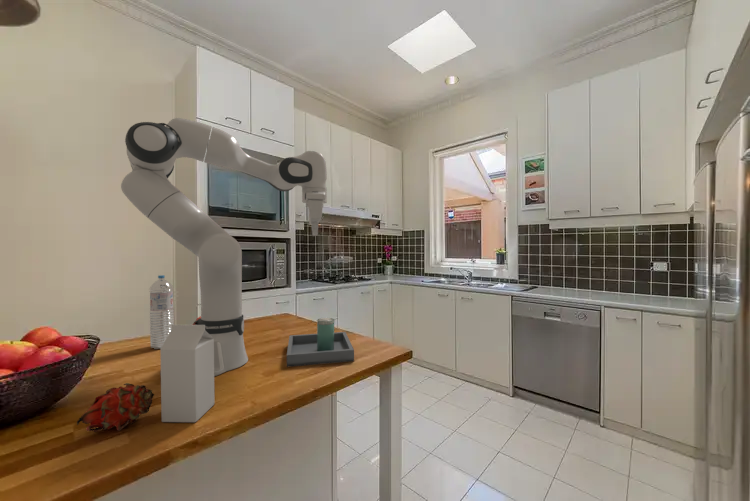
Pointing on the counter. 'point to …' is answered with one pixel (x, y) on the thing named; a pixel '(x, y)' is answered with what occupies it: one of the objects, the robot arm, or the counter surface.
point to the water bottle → (160, 312)
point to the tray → (306, 353)
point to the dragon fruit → (117, 407)
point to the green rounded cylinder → (325, 334)
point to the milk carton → (187, 374)
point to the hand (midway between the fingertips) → (314, 235)
